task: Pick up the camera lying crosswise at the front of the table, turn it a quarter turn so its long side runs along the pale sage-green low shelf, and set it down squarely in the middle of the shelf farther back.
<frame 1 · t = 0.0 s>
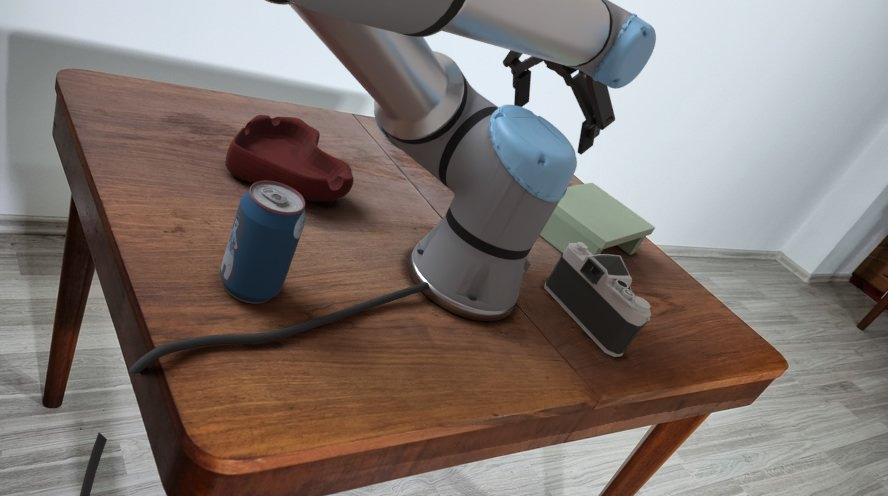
hand: (552, 126, 113), 15 cm above the table, tool tilted 35°, fingers open, 13 cm apart
shelf: (581, 238, 121), on the table
camera: (589, 319, 100), on the table
soda can: (248, 288, 78), on the table
ashtray: (275, 176, 100), on the table
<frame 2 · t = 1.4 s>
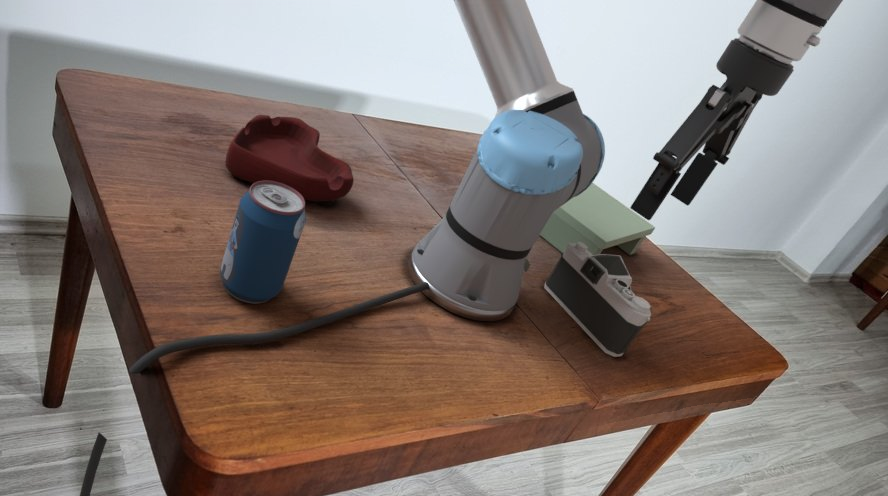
hand: (660, 206, 91), 19 cm above the table, tool pointing down, fingers open, 13 cm apart
nothing on the table moved.
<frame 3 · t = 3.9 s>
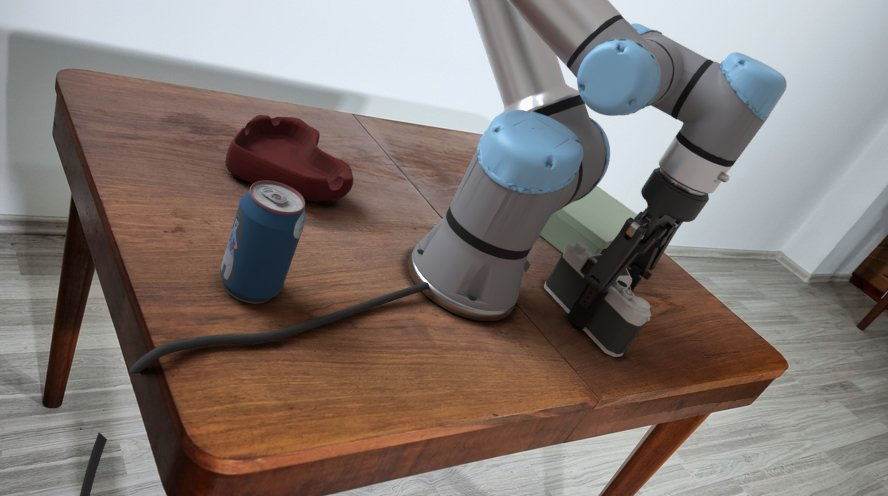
hand: (592, 314, 100), 1 cm above the table, tool pointing down, fingers closed on camera, 9 cm apart
camera: (589, 319, 100), on the table, touching gripper
everything else where it was.
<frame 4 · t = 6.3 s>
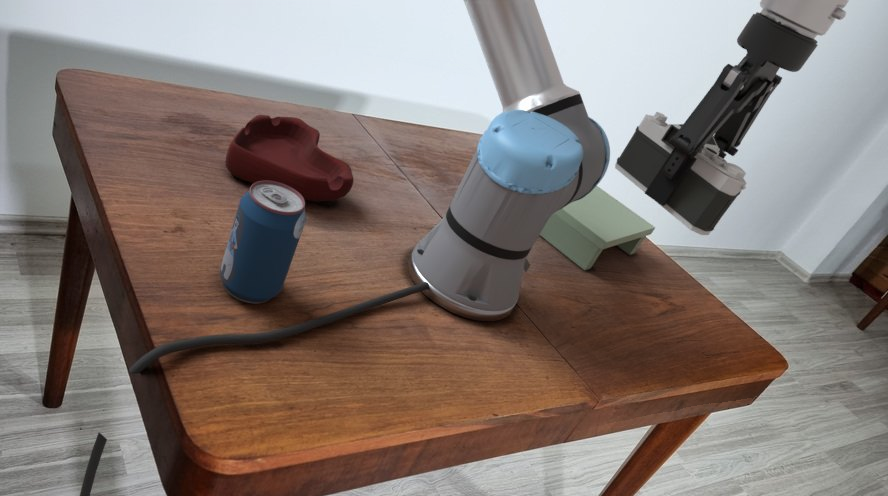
hand: (671, 195, 89), 21 cm above the table, tool pointing down, fingers closed on camera, 9 cm apart
camera: (667, 200, 90), point 20 cm above the table, touching gripper
everything else where it was.
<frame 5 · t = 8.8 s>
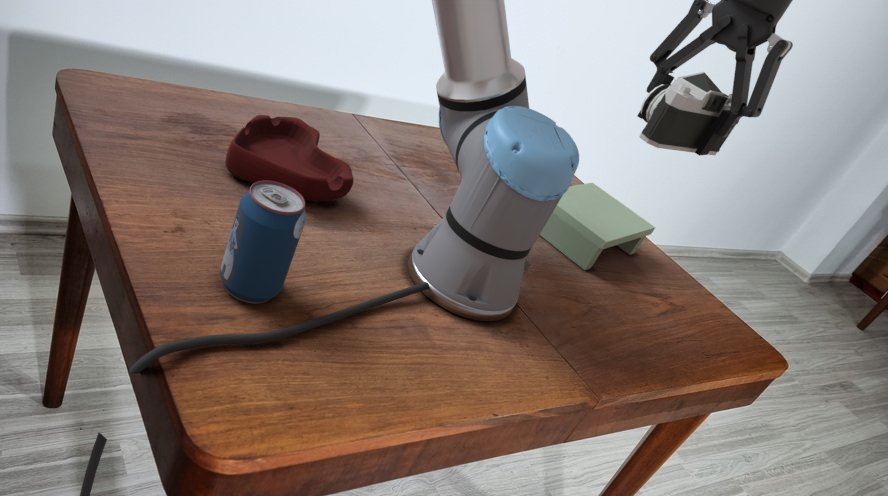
hand: (671, 135, 101), 24 cm above the table, tool pointing down, fingers closed on camera, 9 cm apart
camera: (669, 140, 101), point 23 cm above the table, touching gripper
everything else where it was.
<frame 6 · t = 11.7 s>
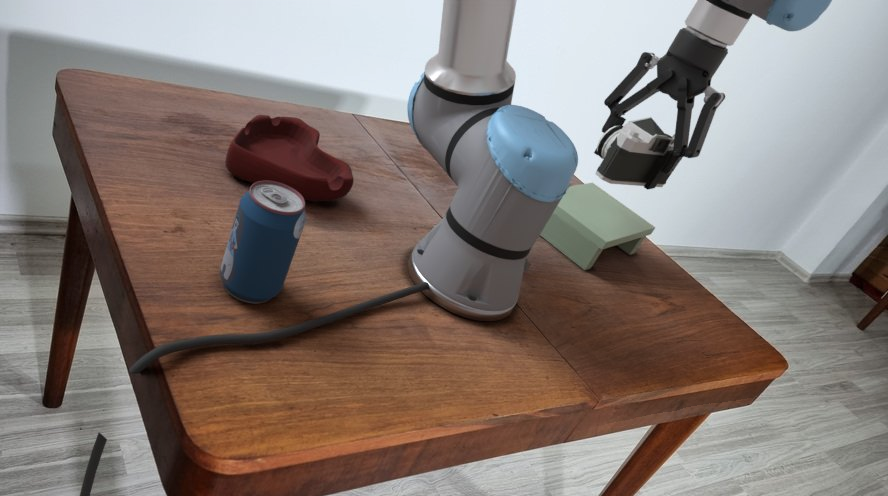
hand: (623, 170, 114), 14 cm above the table, tool pointing down, fingers closed on camera, 9 cm apart
camera: (622, 174, 114), point 13 cm above the table, touching gripper
everything else where it was.
when the fingers open (7 cm above the table, at t = 13.9 s): camera stays where it is, resting on shelf.
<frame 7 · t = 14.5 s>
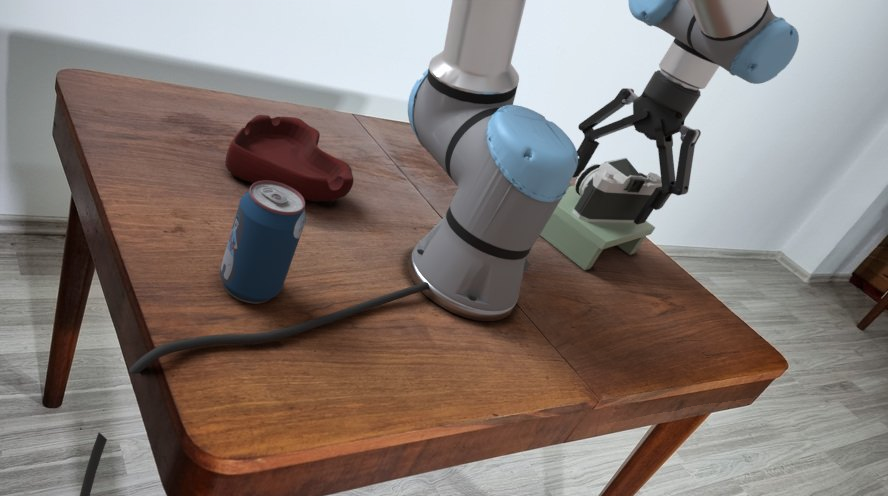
hand: (605, 198, 117), 8 cm above the table, tool pointing down, fingers open, 13 cm apart
camera: (599, 211, 118), point 6 cm above the table, touching shelf
everything else where it was.
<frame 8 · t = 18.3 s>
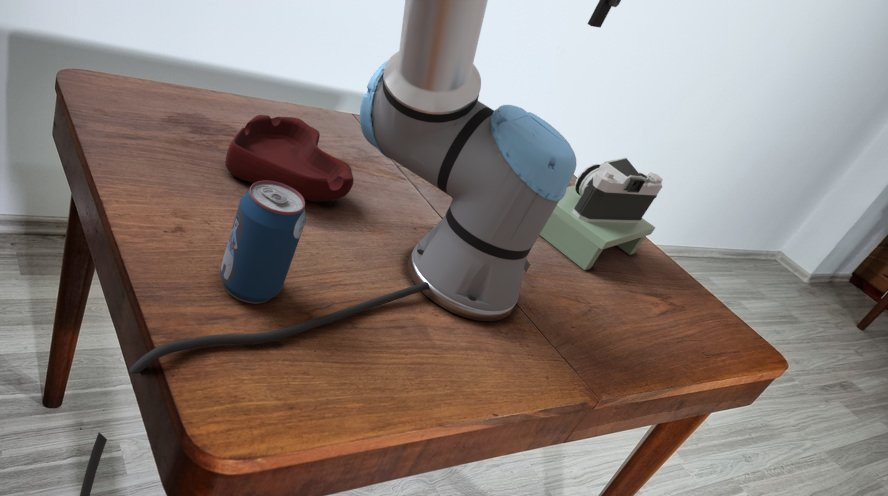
hand: (558, 5, 105), 32 cm above the table, tool pointing down, fingers open, 13 cm apart
nothing on the table moved.
at the end: camera 0.2 cm off-centre on the shelf, point 5.8 cm above the shelf's base; camera tilted 0°; the gripper is holding nothing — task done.
